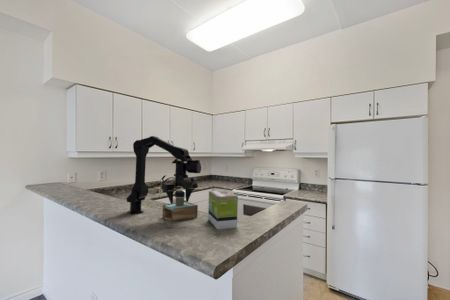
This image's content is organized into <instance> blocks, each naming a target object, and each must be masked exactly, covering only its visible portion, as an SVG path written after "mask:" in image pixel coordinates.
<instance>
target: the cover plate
mask: <svg viewBox="0 0 450 300" xmlns="http://www.w3.org/2000/svg"><path fill="white" fill-rule="evenodd" d="M170 204H171V203H170ZM164 205H165V204H164ZM187 206H193V205H191V204H188V203H185V202H184V198H183V197H176V204H171V205H165V208H167V209H169V210H172V211H173V209H175V208H181V207H187Z"/></svg>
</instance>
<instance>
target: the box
mask: <svg viewBox="0 0 450 300" xmlns="http://www.w3.org/2000/svg"><path fill="white" fill-rule="evenodd" d="M185 203H188V204H191V205H193V206H187V207H181V208H175V209H173V211H172V210H169V209H167V208H165V205H171V203H166V204H162V216H163V217H165V218H167V219H168V220H167V219H166V220H167V221H169V220H170V222H171V221H172V223H173V222H174V223H177V222H182V221H181V220H183V221H186V220H190V219H191V220H192V219H195V218H198V213H199V211H198V204H195V203H192V202H189V201H188V202H185ZM173 204H176V203H173ZM163 217H162V218H163ZM165 218H164V219H165Z"/></svg>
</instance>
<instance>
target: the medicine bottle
mask: <svg viewBox="0 0 450 300" xmlns="http://www.w3.org/2000/svg"><path fill="white" fill-rule="evenodd" d="M176 197H183V198H184V202H186V191H185V190H184V189H178V190H174V197H173V203H176Z"/></svg>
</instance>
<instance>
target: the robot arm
mask: <svg viewBox="0 0 450 300" xmlns="http://www.w3.org/2000/svg"><path fill="white" fill-rule="evenodd" d="M154 146H156V147H158V148H161V149H162V150H164V151H166V152H168V153H169V154H170V155H171V156H172V157H174V160H172V162H171V164H175V173H174V174H173V177H174V181H173V183H170V182H169V183H162V184H161V187H160V189H161V190H162V191H163V192H165V193H166V195H167V198H168V200H169V202H170V203H169V204H173V198H174V194H175V190H174V189H179V188H180V189H181V188H183V189H185V190H184V191H186V198H185V199H186V202H189V200H190V197H191V195H192V192H194V191H195V190H196V189H198V185H199V184H198V183H197V182H196V181H197V180H196V178H195V177H190V178H189V174H201V171H202V164H201V160H200V159H195V160H193V158H192V157H191V156H190V153H189V150H188V149H187V148H183V147H178V146H175V145H173V144H171V143H170V142H167V141H166V140H164V139H161V138H159V137H158V136H154V135H152V136H149V137H146V138H142V139H138V140H137V139H136V140H135V141H134V142H133V143H132V148H133V152H134V154H135V179H134V184H133V186H132V187H131V191H130V192H131V193H130V194H129V195H128V196H127V197H126V202H127V203H129V210H127V213H129V214H130V215H135V214H134V213H136V214H141V213H140V212H143V213H144V210H142V201H144V200H146V197H147V196H148V194H149V188H150V186H149V185H148V184H146V182H145V181H146V163H147V162H146V159H147V155H148V154H149V151H150V148H152V147H154Z"/></svg>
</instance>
